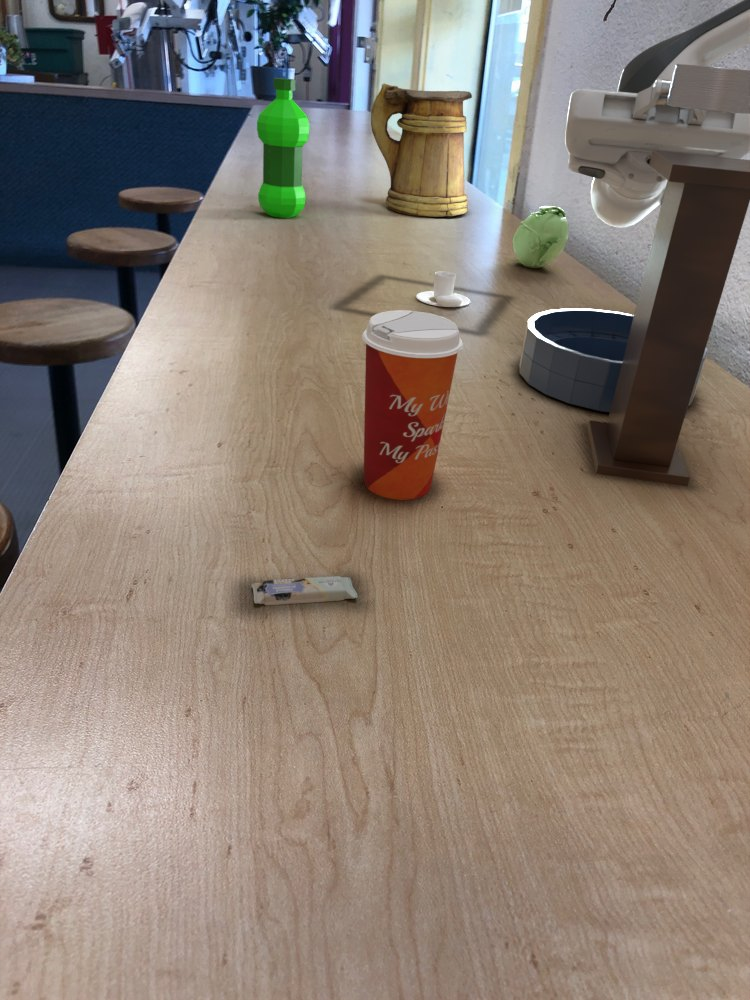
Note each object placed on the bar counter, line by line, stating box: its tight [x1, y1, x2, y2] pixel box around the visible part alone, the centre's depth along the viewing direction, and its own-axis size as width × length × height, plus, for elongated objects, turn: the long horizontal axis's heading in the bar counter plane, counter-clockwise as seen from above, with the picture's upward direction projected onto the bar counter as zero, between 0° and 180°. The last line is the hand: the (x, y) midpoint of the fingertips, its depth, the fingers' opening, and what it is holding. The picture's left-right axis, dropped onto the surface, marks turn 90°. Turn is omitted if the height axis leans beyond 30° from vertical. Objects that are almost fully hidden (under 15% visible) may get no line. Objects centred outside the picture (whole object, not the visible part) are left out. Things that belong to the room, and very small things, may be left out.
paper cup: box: [361, 309, 464, 501], centre depth 62 cm, size 8×8×14 cm
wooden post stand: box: [586, 150, 750, 487], centre depth 68 cm, size 8×10×26 cm
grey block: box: [667, 64, 750, 114], centre depth 71 cm, size 7×22×3 cm, turn 171°
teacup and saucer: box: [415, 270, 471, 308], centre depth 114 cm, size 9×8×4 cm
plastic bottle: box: [256, 77, 311, 219], centre depth 155 cm, size 10×10×25 cm
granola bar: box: [251, 575, 358, 606], centre depth 51 cm, size 7×2×1 cm, turn 101°
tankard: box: [370, 83, 473, 218], centre depth 174 cm, size 18×24×25 cm
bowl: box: [518, 308, 709, 413], centre depth 89 cm, size 20×20×6 cm
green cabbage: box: [512, 205, 570, 269], centre depth 135 cm, size 12×11×11 cm
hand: (681, 87), depth 77 cm, fingers closed on grey block, 2 cm apart
